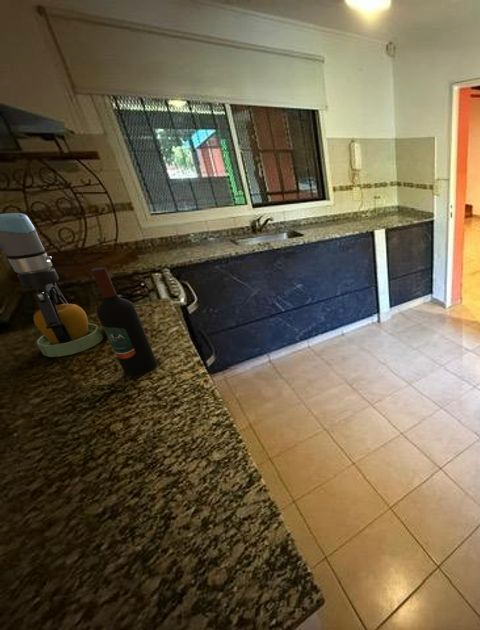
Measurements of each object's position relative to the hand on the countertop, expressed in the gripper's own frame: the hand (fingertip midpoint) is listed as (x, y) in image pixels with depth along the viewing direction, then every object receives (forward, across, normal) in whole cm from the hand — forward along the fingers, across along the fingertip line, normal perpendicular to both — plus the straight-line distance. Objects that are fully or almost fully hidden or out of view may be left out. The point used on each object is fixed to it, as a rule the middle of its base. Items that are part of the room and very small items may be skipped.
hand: (70, 337), depth 107 cm
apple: (+2, 0, 0) cm, 2 cm away
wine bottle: (+4, -28, -17) cm, 33 cm away
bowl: (+3, 0, 0) cm, 3 cm away
